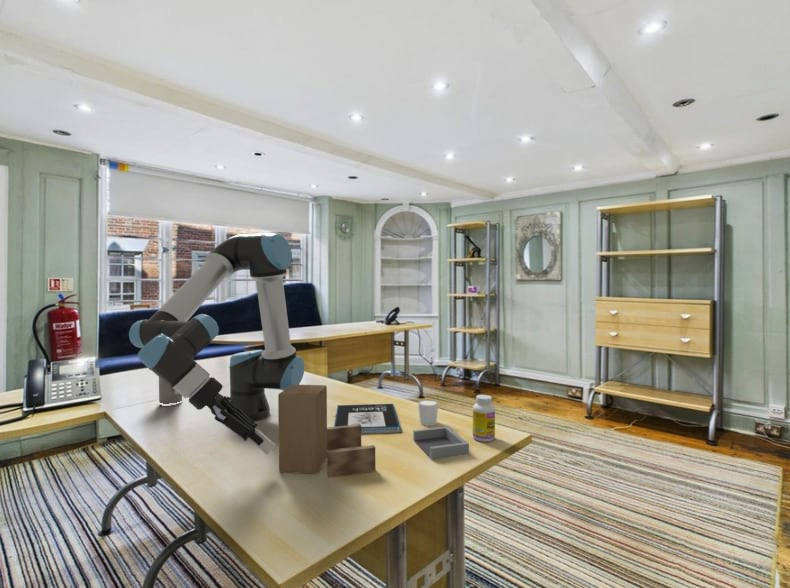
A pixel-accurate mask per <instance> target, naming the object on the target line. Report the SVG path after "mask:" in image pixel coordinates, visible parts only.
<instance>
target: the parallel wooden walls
mask: <svg viewBox="0 0 790 588" xmlns="http://www.w3.org/2000/svg"><path fill="white" fill-rule="evenodd" d="M370 472H376V446H375V445H374V444H373V445H365V446H362V434H361V425H360V424H356V425H347V426H338V427H334V426H331V427H329V426H327V458H326V476H327V478H334V477H342V476H349V475H356V474H362V473H370Z"/></svg>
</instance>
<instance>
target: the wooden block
mask: <svg viewBox="0 0 790 588" xmlns="http://www.w3.org/2000/svg"><path fill="white" fill-rule="evenodd" d="M327 390H328V387H327V385H325V384H299V385H291V386H289V387H288V388H286V389H285V390H281V391H280V393H278V395H277V397H278V399H277V401H278V403H277V404H278V405H277V406H278V470H279V471H278V472H280V473H293V474H311V475H313V474H314V475H315V474H318V473H319V471H320V470H321V468H322V466H323V464H325V463H324V462H325V461H327V451H328V450H327V428H328V401H327V400H328V399H327V398H328V395H327V394H328V393H327V392H328V391H327Z"/></svg>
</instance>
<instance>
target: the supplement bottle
mask: <svg viewBox="0 0 790 588" xmlns="http://www.w3.org/2000/svg"><path fill="white" fill-rule="evenodd" d="M475 400H476V403H475V404H474V405H472V438H473V439H474V440H475V441H477V442H483V443H489V442H493V441H494V440H495V438H496V437H495V436H496V408H495V406H494V405H493V404H492V403H493V402H492V401H493V397H492V396H491V395H488V394H478V395H476V397H475Z"/></svg>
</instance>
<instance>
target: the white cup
mask: <svg viewBox="0 0 790 588" xmlns="http://www.w3.org/2000/svg"><path fill="white" fill-rule="evenodd" d="M417 405H418V415H419V424H420V423H421V424H422V425H421V424H420V425H421V426H424V425H426V427H433V426H436V425H437V420H438V410H439V402H438V401H436V400H430V399H429V400H428V399H427V400H425V399H423V400H420V401H418V402H417Z"/></svg>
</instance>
